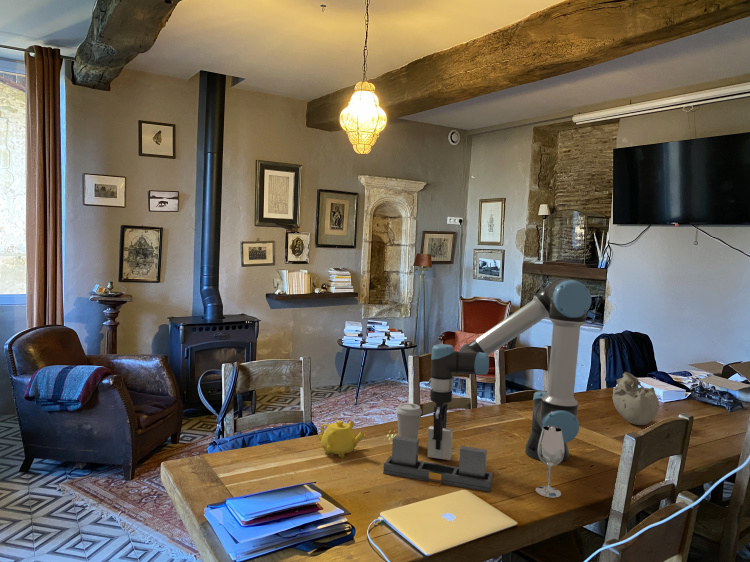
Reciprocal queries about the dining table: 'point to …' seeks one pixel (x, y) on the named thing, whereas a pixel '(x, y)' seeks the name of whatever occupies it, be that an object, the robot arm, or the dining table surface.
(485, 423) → the dining table surface
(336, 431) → the teapot
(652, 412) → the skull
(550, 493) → the wineglass
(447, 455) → the panel
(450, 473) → the rack
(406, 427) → the coffee cup
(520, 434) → the dining table surface
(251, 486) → the dining table surface
